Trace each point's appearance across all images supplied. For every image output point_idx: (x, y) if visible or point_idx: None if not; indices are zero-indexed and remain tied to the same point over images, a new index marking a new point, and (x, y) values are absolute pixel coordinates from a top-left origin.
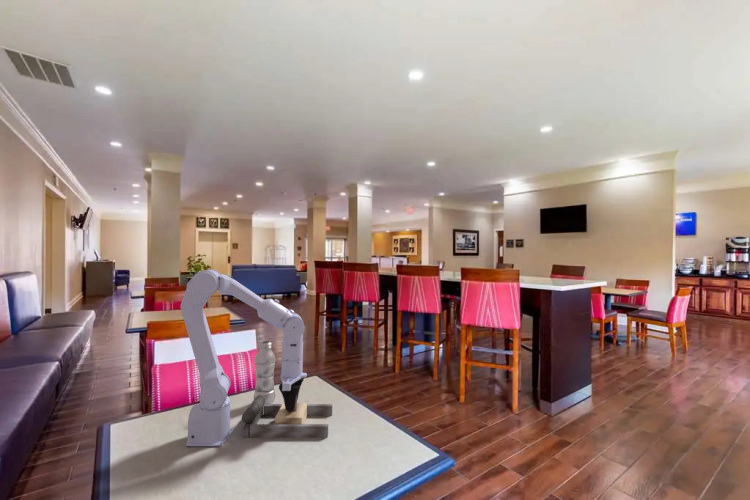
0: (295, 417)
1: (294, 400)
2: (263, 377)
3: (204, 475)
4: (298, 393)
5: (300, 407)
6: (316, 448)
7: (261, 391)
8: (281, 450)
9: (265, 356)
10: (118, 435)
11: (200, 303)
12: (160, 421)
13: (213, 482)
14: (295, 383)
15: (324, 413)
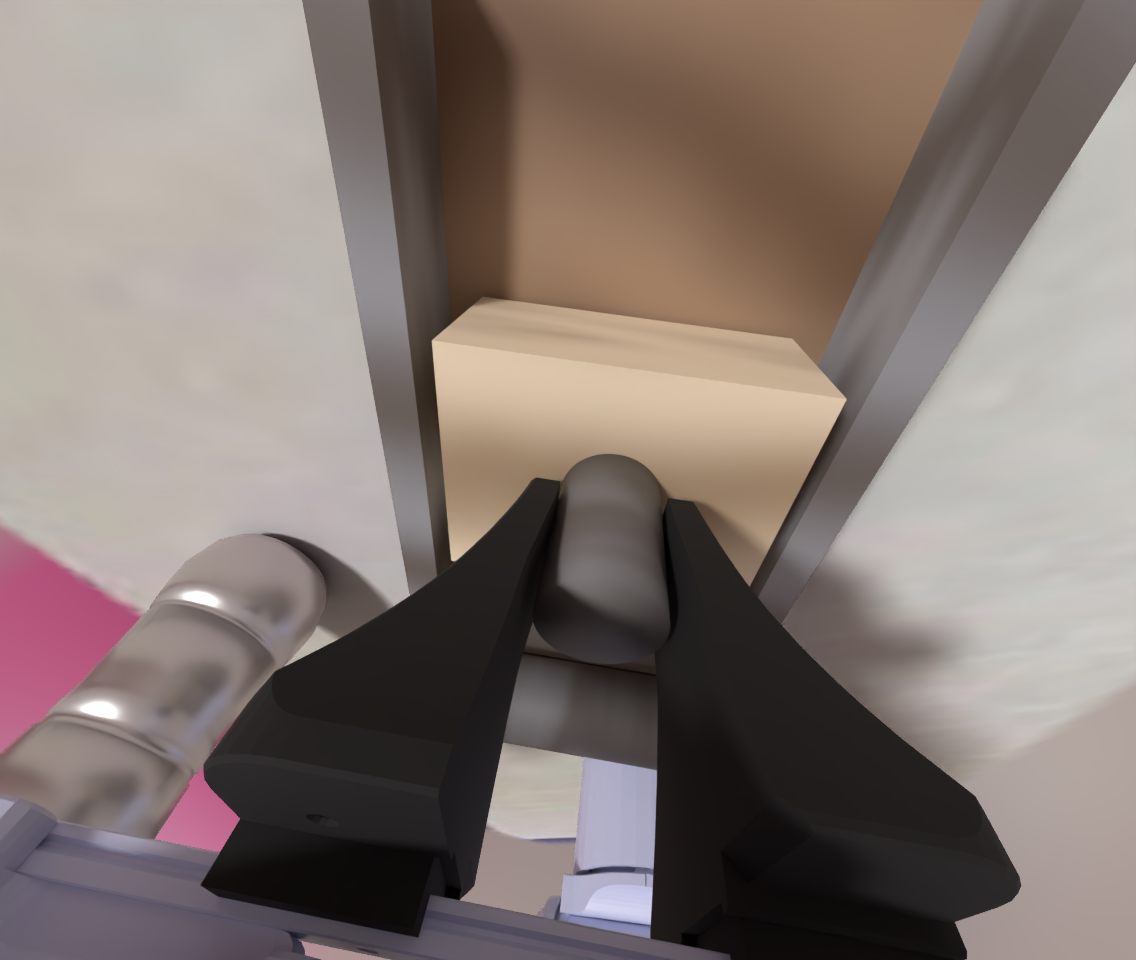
0: (806, 462)
1: (750, 594)
2: (178, 771)
3: (947, 707)
4: (504, 551)
5: (550, 416)
6: (1076, 157)
7: (268, 666)
8: (913, 457)
9: None
10: (573, 830)
11: None
12: (493, 790)
13: (1033, 686)
14: (482, 762)
15: (421, 55)
